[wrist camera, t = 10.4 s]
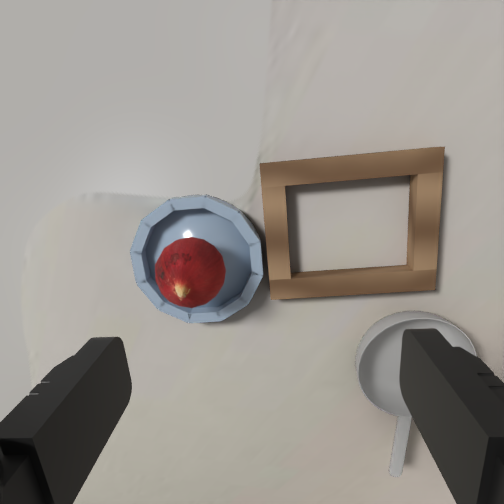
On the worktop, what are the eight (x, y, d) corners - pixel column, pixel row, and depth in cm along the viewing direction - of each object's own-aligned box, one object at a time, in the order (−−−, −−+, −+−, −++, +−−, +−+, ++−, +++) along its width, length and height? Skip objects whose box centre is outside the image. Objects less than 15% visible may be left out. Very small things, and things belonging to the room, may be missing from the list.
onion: (159, 268, 32) (125, 304, 25) (186, 217, 31) (158, 238, 23) (212, 297, 33) (194, 341, 25) (241, 248, 31) (231, 279, 24)
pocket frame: (260, 163, 30) (259, 163, 28) (435, 147, 29) (444, 146, 27) (270, 293, 33) (270, 299, 32) (427, 283, 32) (435, 289, 30)
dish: (129, 200, 31) (120, 203, 29) (256, 189, 30) (255, 191, 28) (151, 316, 35) (144, 325, 33) (267, 309, 34) (266, 318, 32)
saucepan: (467, 304, 33) (492, 323, 29) (431, 450, 38) (449, 482, 34) (356, 297, 33) (366, 315, 29) (335, 442, 38) (342, 473, 34)
